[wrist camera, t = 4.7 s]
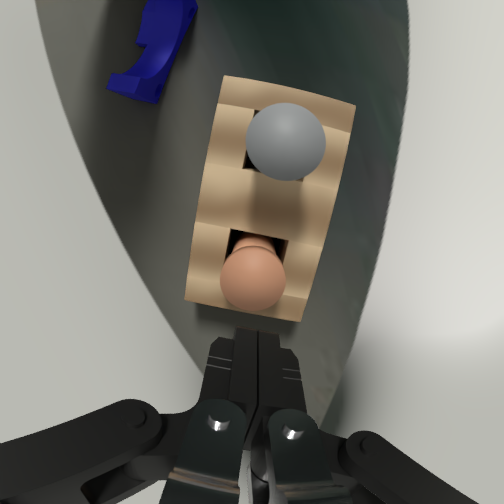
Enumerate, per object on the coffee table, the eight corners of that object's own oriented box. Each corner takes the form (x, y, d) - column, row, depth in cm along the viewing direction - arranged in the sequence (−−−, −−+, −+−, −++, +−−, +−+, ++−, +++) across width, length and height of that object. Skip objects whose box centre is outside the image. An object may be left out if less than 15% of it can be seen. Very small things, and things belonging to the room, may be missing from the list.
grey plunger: (255, 113, 23) (254, 95, 16) (311, 126, 23) (332, 114, 16) (244, 167, 25) (238, 171, 17) (299, 179, 25) (316, 189, 18)
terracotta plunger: (234, 220, 28) (225, 244, 21) (284, 231, 28) (293, 257, 21) (225, 267, 30) (215, 304, 22) (272, 277, 30) (277, 315, 22)
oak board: (229, 88, 26) (224, 75, 21) (340, 113, 26) (355, 105, 21) (194, 278, 32) (184, 299, 27) (294, 298, 32) (300, 322, 27)
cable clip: (161, 3, 22) (143, -22, 17) (198, 7, 23) (186, -20, 17) (120, 96, 26) (93, 86, 20) (157, 104, 26) (134, 93, 21)
